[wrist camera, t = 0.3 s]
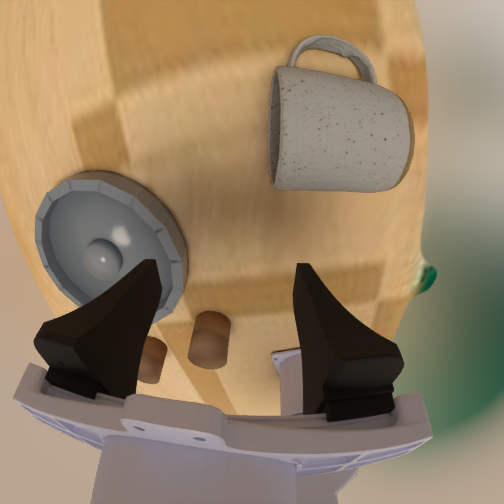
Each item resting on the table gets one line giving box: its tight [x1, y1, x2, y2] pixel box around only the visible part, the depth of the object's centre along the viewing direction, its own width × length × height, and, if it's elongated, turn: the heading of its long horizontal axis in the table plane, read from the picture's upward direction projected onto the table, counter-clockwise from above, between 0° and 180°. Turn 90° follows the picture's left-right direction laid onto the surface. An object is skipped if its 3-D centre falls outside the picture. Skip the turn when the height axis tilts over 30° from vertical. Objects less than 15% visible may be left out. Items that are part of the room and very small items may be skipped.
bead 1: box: [137, 336, 167, 384], centre depth 31 cm, size 4×4×5 cm
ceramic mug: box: [268, 35, 415, 193], centre depth 14 cm, size 11×8×8 cm
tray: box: [35, 170, 188, 324], centre depth 24 cm, size 17×17×2 cm
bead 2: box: [188, 311, 231, 369], centre depth 28 cm, size 4×4×5 cm
